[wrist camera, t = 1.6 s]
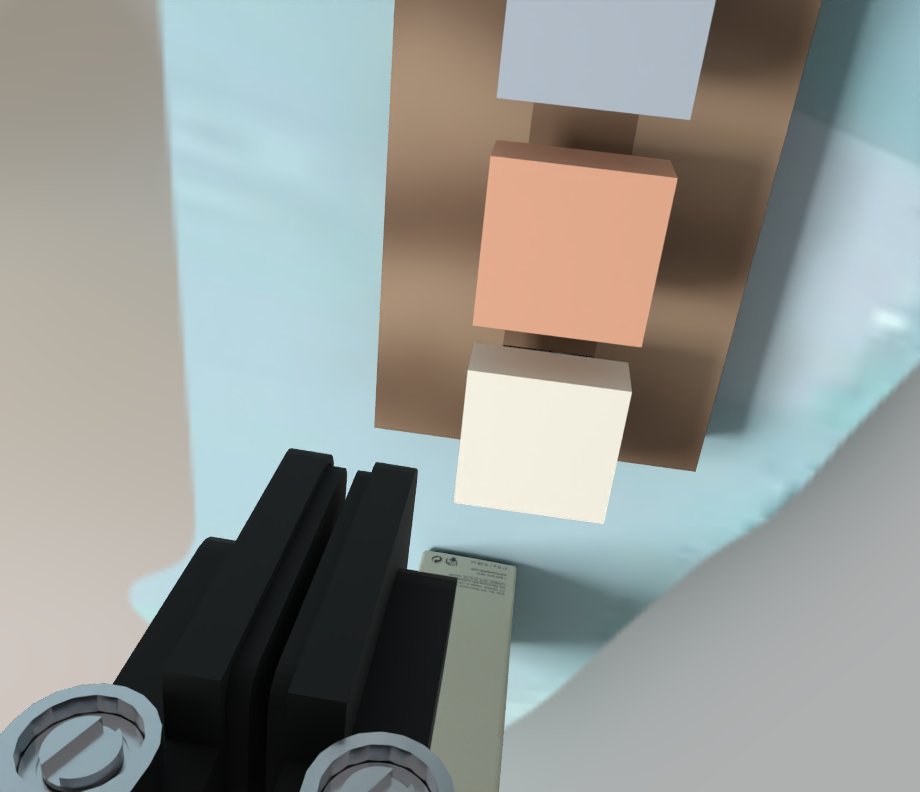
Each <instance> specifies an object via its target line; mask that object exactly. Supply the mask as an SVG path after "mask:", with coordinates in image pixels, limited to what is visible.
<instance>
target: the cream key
mask: <svg viewBox="0 0 920 792" xmlns="http://www.w3.org/2000/svg"><path fill="white" fill-rule="evenodd" d="M631 394H632V388H631V380H630V372H629V364H628V363H627V362H620V361H612V360H605V359H597V358H589V357H582V356H574V355H566V354H559V353H551V352H544V351H536V350H528V349H521V348H513V347H505V346H498V345H490V344H482V343H475V342H474V346H473V350H472V354H471V359H470V363H469V367H468V373H467V382H466V392H465V401H464V411H463V420H462V430H461V439H460V449H459V458H458V467H457V477H456V486H455V496H454V503H459V504H466V505H473V506H480V507H487V508H494V509H501V510H508V511H515V512H522V513H529V514H536V515H543V516H550V517H557V518H564V519H571V520H578V521H585V522H592V523H600V524H604V521H605V516H606V511H607V507H608V502H609V497H610V492H611V488H612V483H613V478H614V474H615V469H616V464H617V460H618V455H619V450H620V446H621V441H622V436H623V432H624V427H625V422H626V418H627V413H628V408H629V404H630V399H631Z"/></svg>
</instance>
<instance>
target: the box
mask: <svg viewBox="0 0 920 792" xmlns="http://www.w3.org/2000/svg"><path fill="white" fill-rule="evenodd" d="M418 571H420V572H426V573H432V574H438V575H444V576H450V577H456V578H458V581H457V588H456V595H455V601H454V608H453V614H452V621H451V628H450V634H449V640H448V647H447V653H446V659H445V665H444V672H443V678H442V684H441V690H440V695H439V701H438V707H437V713H436V719H435V725H434V730H433V736H432V742H431V748H430V751H431V752H433V753H434V754H435V755H436V756H437V757H438V758H439V759H441V761H442V763H443V764H444V766H445V768H446V769H447V771H448V772H449V774H450V776H451V777H452V781H453V786H454V791H455V792H499V783H500V772H501V759H502V746H503V734H504V722H505V710H506V697H507V684H508V670H509V656H510V643H511V630H512V618H513V606H514V594H515V583H516V574H517V568H516V567H515V566H513V565H506V564H501V563H496V562H491V561H485V560H480V559H475V558H469V557H463V556H457V555H452V554H446V553H439V552H433V551H424V552H423V554H422V557H421V561H420V565H419V569H418Z"/></svg>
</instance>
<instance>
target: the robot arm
mask: <svg viewBox="0 0 920 792" xmlns="http://www.w3.org/2000/svg"><path fill="white" fill-rule="evenodd" d="M417 474H418V470H417V469H416V468H410V467H404V466H398V465H392V464H386V463H379V462H376V463H375V465H374V467H373V470H372V472H366V471H360V470H359V471H357V473H356V475H355V478H354V480H353V483H352V485H351V487H350V490H349V492H348V495H347V497H346V483H347V470H346V468H341V467H335V466H334V461H333V456H332V455H330V454H324V453H317V452H311V451H305V450H299V449H293V448H291V449H289V450H288V451H287V453H286V454H285V456H284V458H283V459H282V461H281V463H280V465H279V466H278V468H277V470H276V472H275V473H274V475H273V477H272V479H271V480H270V482H269V484H268V486H267V487H266V489H265V491H264V493H263V494H262V496H261V498H260V500H259V501H258V503H257V505H256V507H255V508H254V510H253V512H252V514H251V515H250V517H249V519H248V521H247V522H246V524H245V526H244V528H243V529H242V531H241V533H240V535H239V536H238V538H237V540H236V541H234V540H228V539H222V538H216V537H209V538H207V539H205V540H204V541H203V543H202V544H201V545H200V546H199V548H198V549H197V551H196V553H195V554H194V556H193V557H192V559H191V561H190V562H189V564H188V565H187V567H186V568H185V570H184V572H183V573H182V575H181V576H180V578H179V580H178V581H177V583H176V584H175V586H174V588H173V589H172V591H171V592H170V594H169V595H168V597H167V599H166V600H165V602H164V603H163V605H162V607H161V608H160V610H159V611H158V613H157V615H156V616H155V618H154V619H153V621H152V622H151V624H150V626H149V627H148V629H147V630H146V632H145V634H144V635H143V637H142V639H141V640H140V642H139V643H138V645H137V646H136V648H135V650H134V651H133V653H132V654H131V656H130V657H129V659H128V661H127V662H126V664H125V665H124V667H123V668H122V670H121V672H120V673H119V675H118V676H117V678H116V680H115V681H114V683H113V684H105V683H102V684H88V685H79V686H75V687H72V688H68V689H65V690H61V691H58V692H55V693H53V694H51V695H49V696H47V697H45V698H43V699H41V700H40V701H38V702H36V703H34V704H33V705H31V706H30V707H29V708H28V709H26V710H25V711H24V712H23V713H22V714H20V715H19V716H18V717H17V718H15V719H14V720H13V721H12V722H11V723H10V724H9V725H8V727H7V728H6V729H5V730H4V731H3V732H2V733H1V734H0V792H455V791H454V786H453V781H452V777H451V776H450V774H449V772H448V771H447V769H446V768H445V766H444V764H443V763H442V761H441V759H439V758H438V757H437V756H436V755H435V754H434V753H433V752H431V751H430V748H431V742H432V736H433V730H434V725H435V719H436V713H437V707H438V701H439V695H440V690H441V684H442V678H443V672H444V665H445V659H446V653H447V647H448V640H449V634H450V628H451V621H452V614H453V608H454V601H455V595H456V588H457V581H458V578H456V577H450V576H444V575H438V574H432V573H426V572H420V571H414V570H408V569H407V563H408V554H409V546H410V537H411V529H412V520H413V511H414V503H415V494H416V485H417ZM345 497H346V500H345Z"/></svg>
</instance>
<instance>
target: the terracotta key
mask: <svg viewBox="0 0 920 792" xmlns="http://www.w3.org/2000/svg"><path fill="white" fill-rule="evenodd" d="M677 179H678V178H677V175H676V173H675V170H674V168H673V165H672V163H671V161H670V160H665V159H656V158H648V157H639V156H631V155H622V154H614V153H605V152H597V151H588V150H580V149H571V148H563V147H554V146H546V145H537V144H529V143H520V142H512V141H503V140H496V142H495V145H494V147H493V150H492V153H491V156H490V165H489V175H488V184H487V194H486V203H485V212H484V222H483V231H482V241H481V250H480V260H479V269H478V279H477V288H476V297H475V307H474V316H473V326H480V327H488V328H496V329H504V330H511V331H519V332H527V333H534V334H542V335H550V336H557V337H565V338H573V339H581V340H588V341H596V342H604V343H611V344H619V345H627V346H634V347H642V343H643V338H644V334H645V329H646V324H647V320H648V315H649V310H650V305H651V301H652V296H653V291H654V287H655V282H656V277H657V273H658V268H659V263H660V259H661V254H662V249H663V245H664V240H665V235H666V231H667V226H668V221H669V217H670V212H671V207H672V203H673V198H674V193H675V189H676V184H677Z"/></svg>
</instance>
